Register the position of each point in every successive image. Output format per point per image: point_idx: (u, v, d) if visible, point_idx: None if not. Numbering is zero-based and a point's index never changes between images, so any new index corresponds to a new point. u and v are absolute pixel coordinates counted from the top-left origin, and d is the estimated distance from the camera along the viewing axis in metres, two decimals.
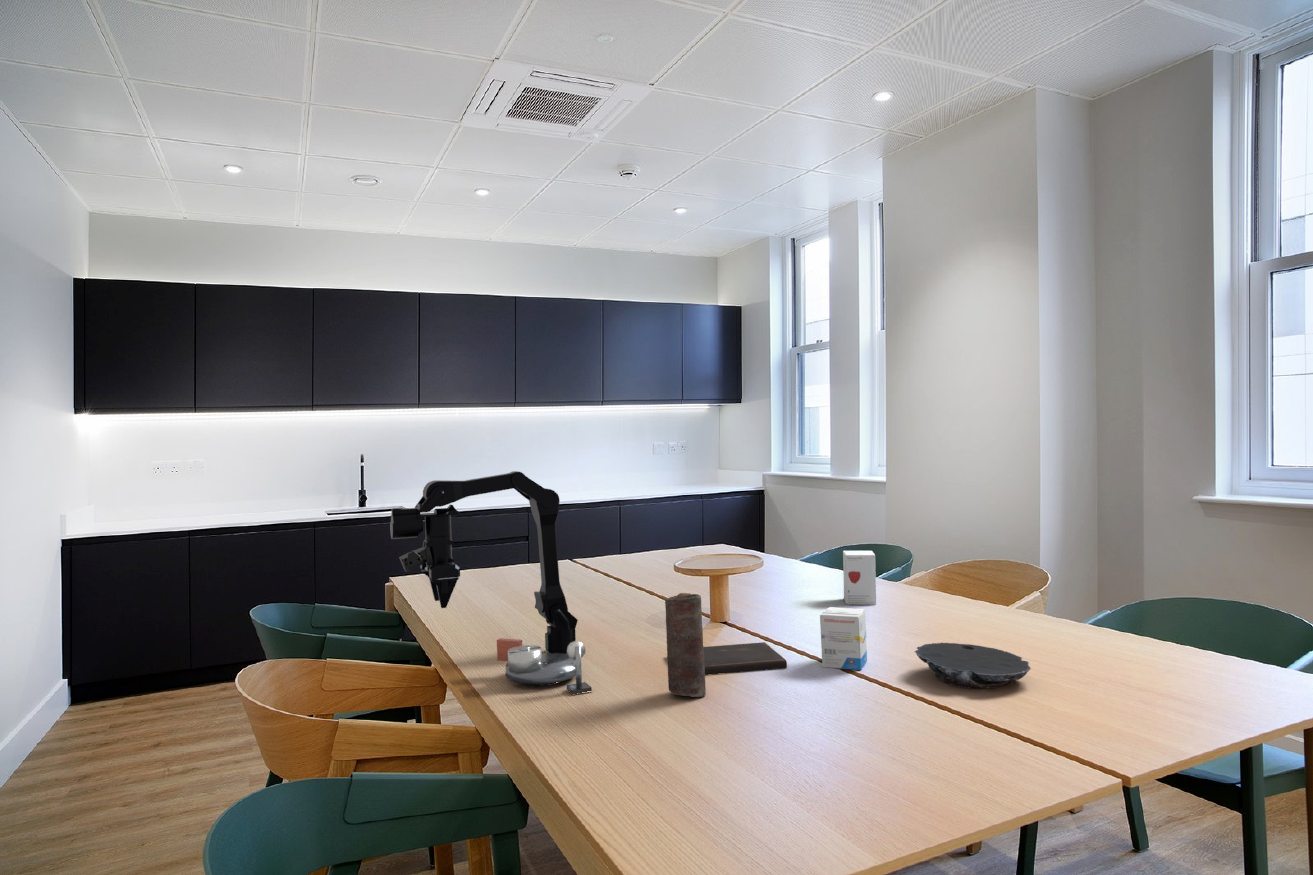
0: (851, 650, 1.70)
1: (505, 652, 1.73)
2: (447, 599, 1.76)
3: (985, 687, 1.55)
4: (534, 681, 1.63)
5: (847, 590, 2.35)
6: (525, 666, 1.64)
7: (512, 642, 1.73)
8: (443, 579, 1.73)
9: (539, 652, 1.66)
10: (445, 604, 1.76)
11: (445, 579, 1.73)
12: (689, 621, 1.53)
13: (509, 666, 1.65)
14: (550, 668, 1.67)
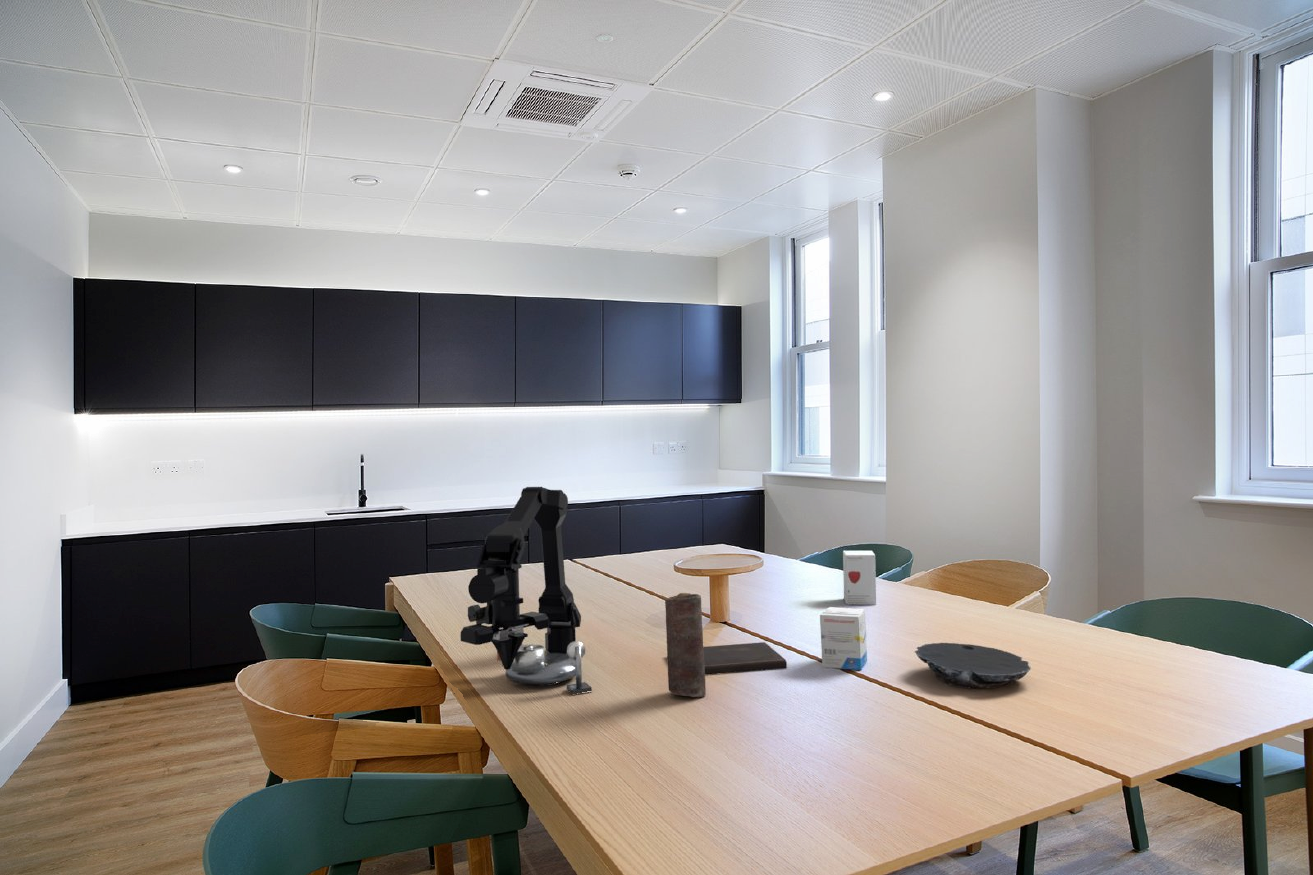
0: (851, 650, 1.70)
1: None
2: (505, 661, 1.63)
3: (985, 687, 1.55)
4: (534, 681, 1.63)
5: (847, 590, 2.35)
6: (528, 665, 1.64)
7: None
8: None
9: (542, 651, 1.67)
10: (505, 666, 1.63)
11: (492, 639, 1.61)
12: (689, 621, 1.53)
13: (512, 665, 1.66)
14: (550, 668, 1.67)
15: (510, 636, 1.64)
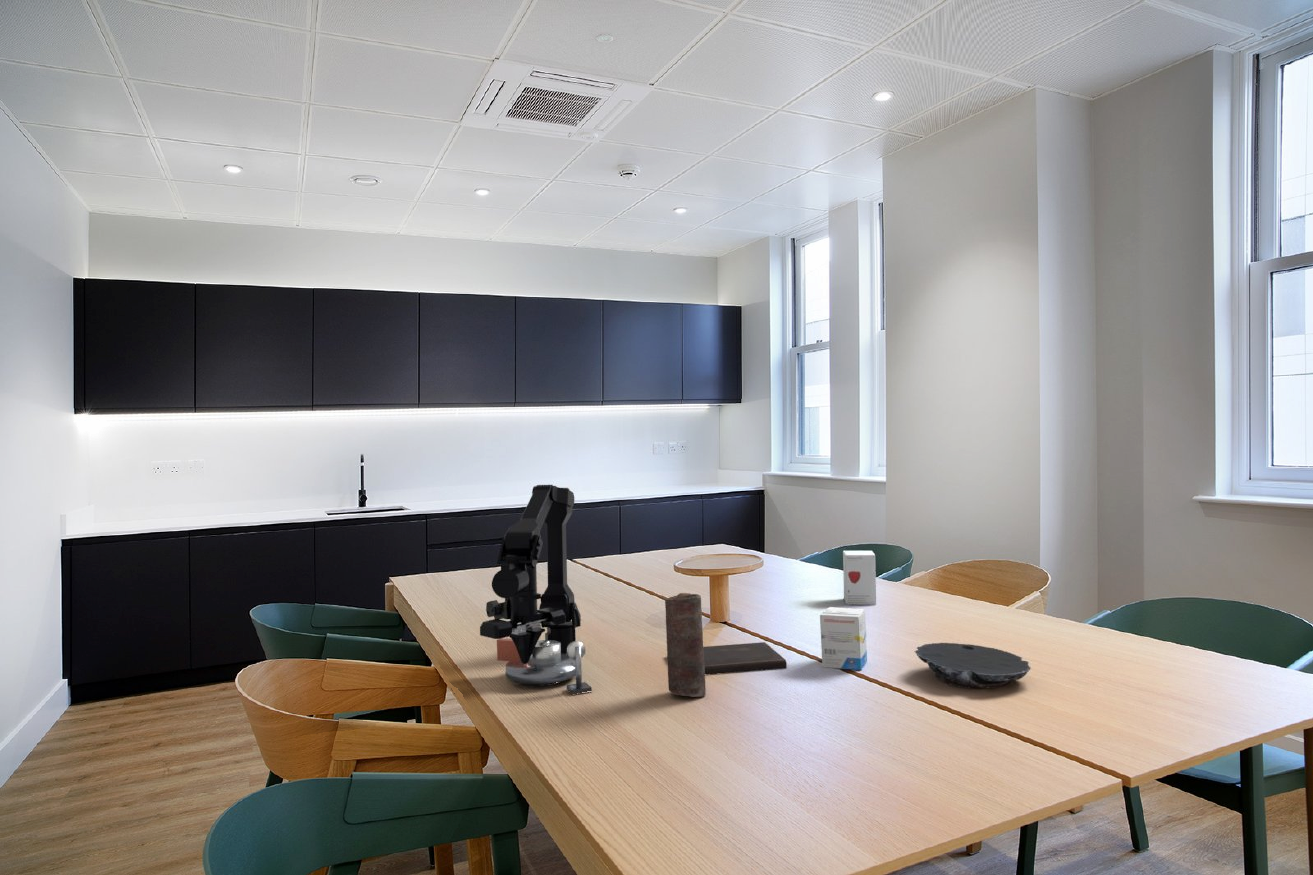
0: (851, 650, 1.70)
1: (505, 652, 1.73)
2: (523, 655, 1.66)
3: (985, 687, 1.55)
4: (534, 681, 1.63)
5: (847, 590, 2.35)
6: (545, 660, 1.67)
7: (512, 642, 1.73)
8: None
9: (558, 647, 1.70)
10: (523, 660, 1.66)
11: (510, 634, 1.64)
12: (689, 621, 1.53)
13: (529, 660, 1.69)
14: (550, 668, 1.67)
15: (528, 631, 1.67)
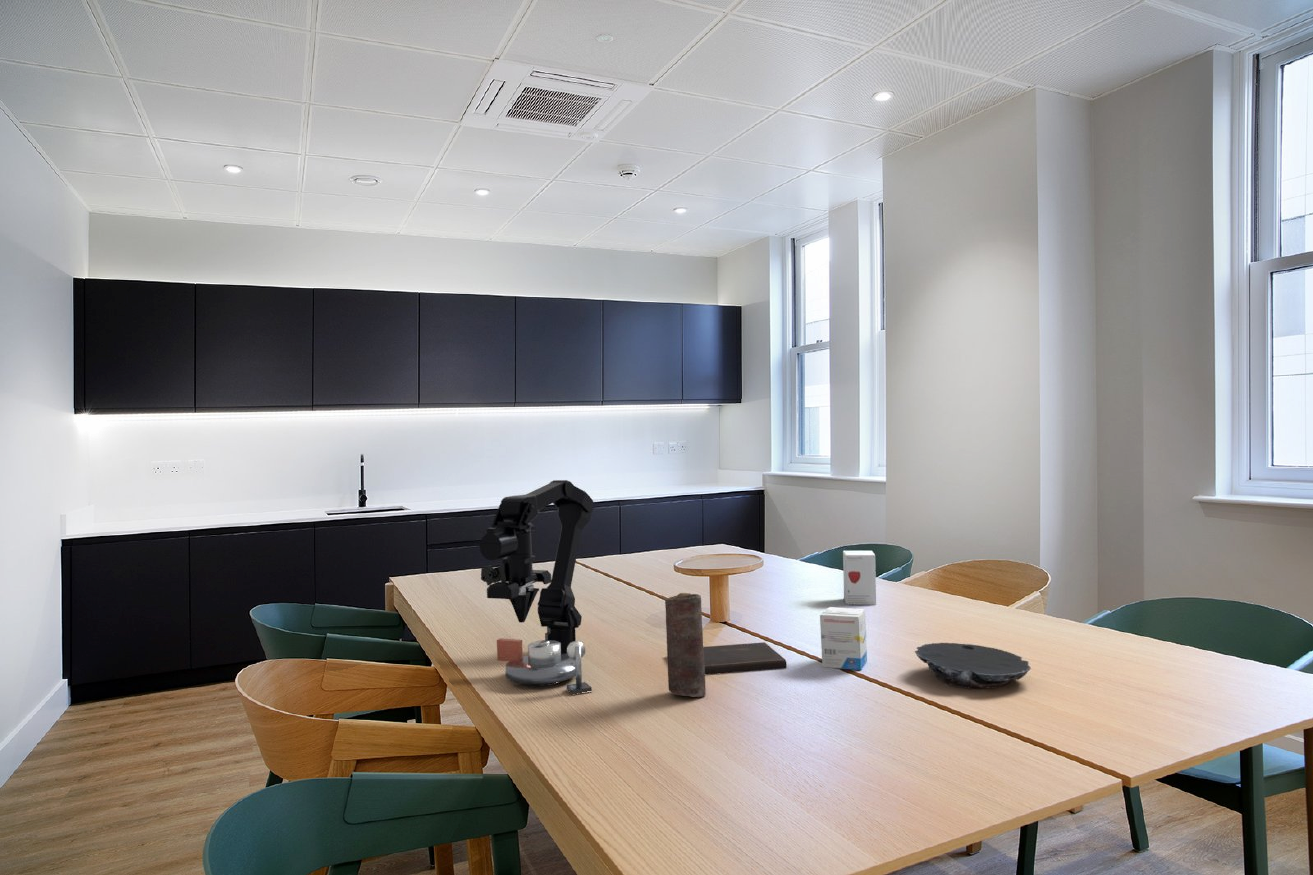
0: (851, 650, 1.70)
1: (505, 652, 1.73)
2: (522, 614, 1.76)
3: (985, 687, 1.55)
4: (534, 681, 1.63)
5: (847, 590, 2.35)
6: (545, 660, 1.67)
7: (512, 642, 1.73)
8: None
9: (558, 647, 1.70)
10: (521, 619, 1.77)
11: None
12: (689, 621, 1.53)
13: (529, 660, 1.69)
14: (550, 668, 1.67)
15: None
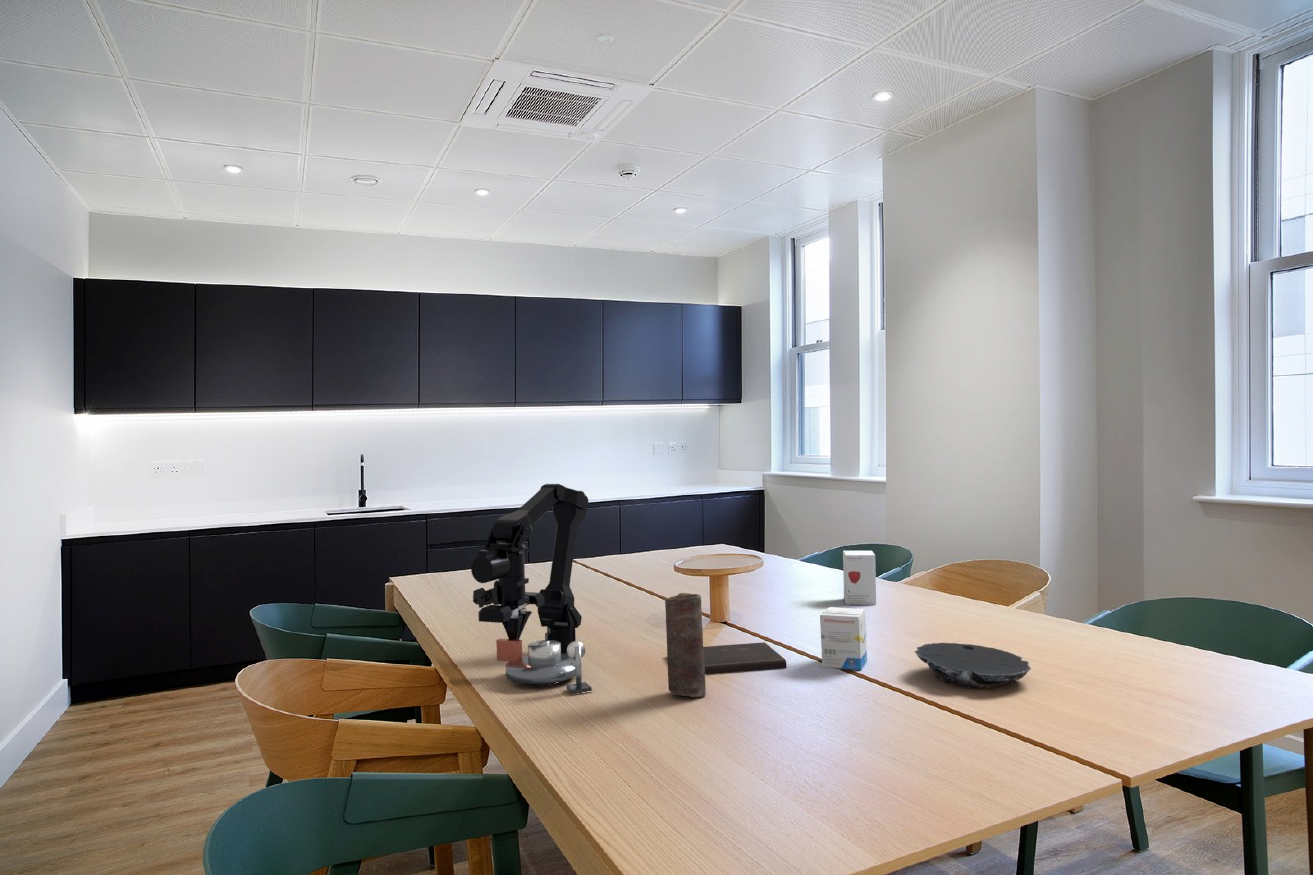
0: (851, 650, 1.70)
1: (505, 652, 1.73)
2: (514, 638, 1.74)
3: (985, 687, 1.55)
4: (535, 681, 1.63)
5: (847, 590, 2.35)
6: (546, 660, 1.67)
7: (512, 642, 1.72)
8: None
9: (559, 647, 1.70)
10: None
11: None
12: (689, 621, 1.53)
13: (529, 660, 1.69)
14: (550, 668, 1.67)
15: None
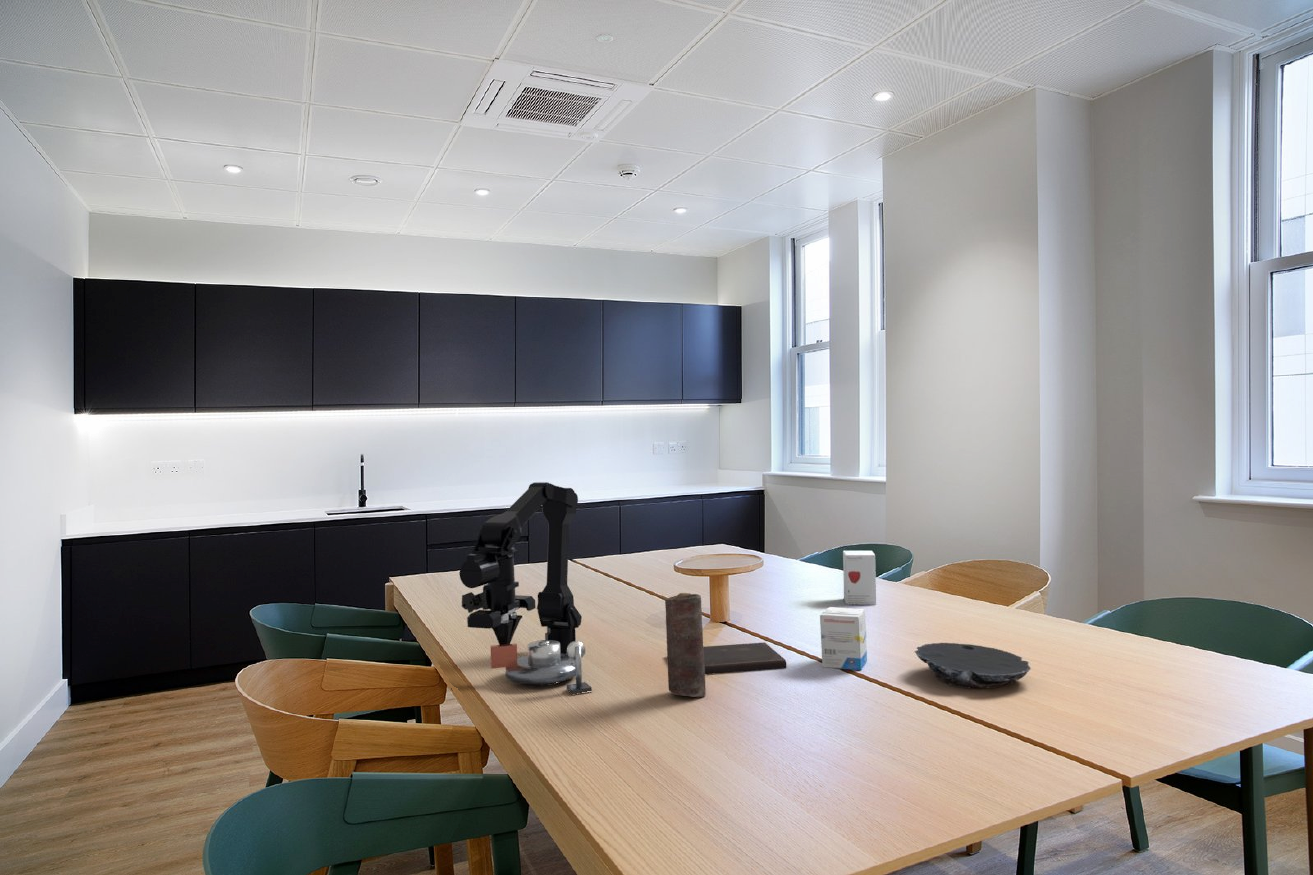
0: (851, 650, 1.70)
1: (501, 658, 1.68)
2: (505, 643, 1.70)
3: (985, 687, 1.55)
4: (556, 679, 1.64)
5: (847, 590, 2.35)
6: (554, 658, 1.69)
7: (509, 647, 1.69)
8: None
9: (559, 644, 1.72)
10: None
11: None
12: (689, 621, 1.53)
13: (535, 662, 1.68)
14: (560, 665, 1.69)
15: None
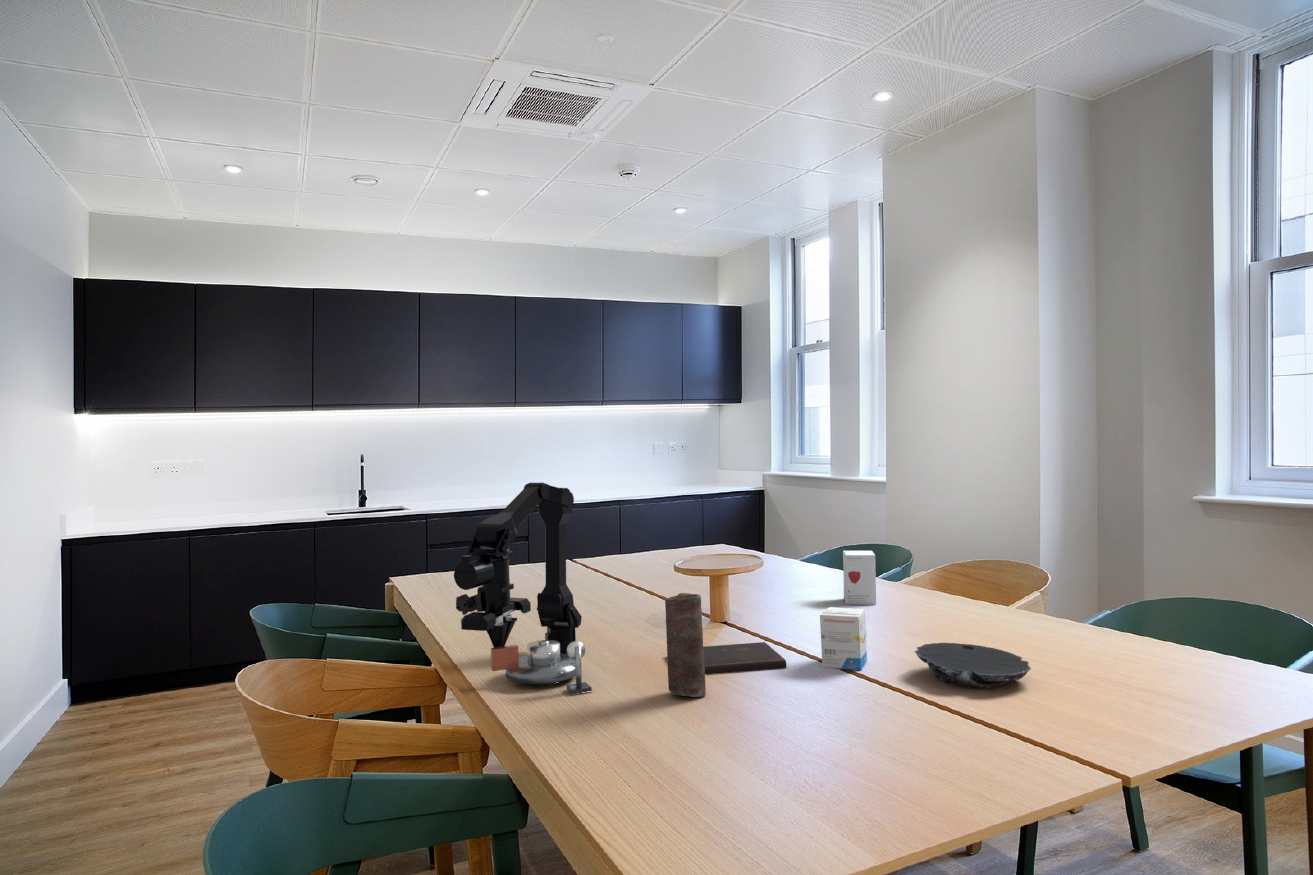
0: (851, 650, 1.70)
1: (502, 660, 1.67)
2: (499, 645, 1.68)
3: (985, 687, 1.55)
4: (563, 678, 1.65)
5: (847, 590, 2.35)
6: (556, 658, 1.69)
7: (511, 649, 1.67)
8: None
9: None
10: None
11: None
12: (689, 621, 1.53)
13: (537, 662, 1.68)
14: (562, 664, 1.69)
15: None
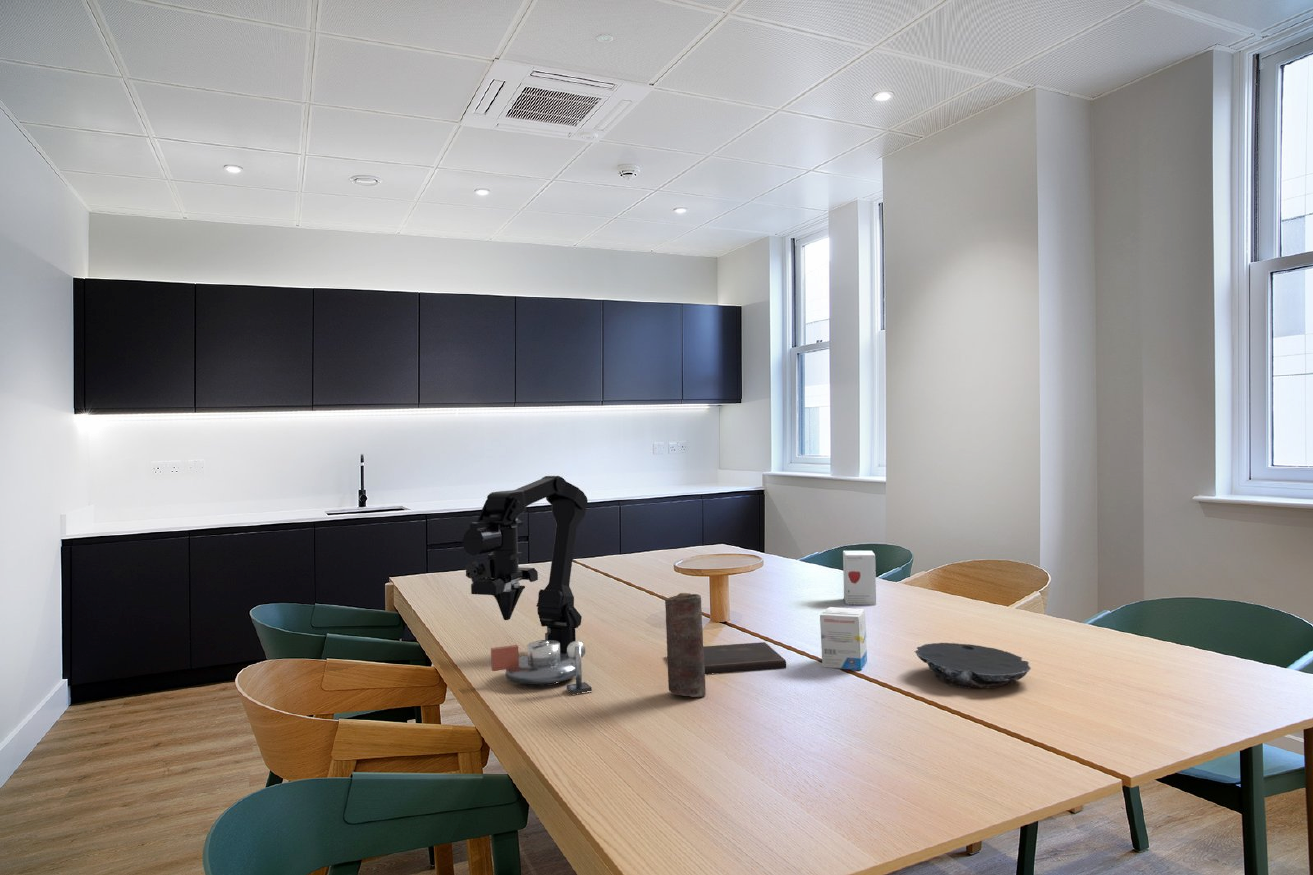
0: (851, 650, 1.70)
1: (502, 660, 1.67)
2: (507, 612, 1.74)
3: (985, 687, 1.55)
4: (563, 678, 1.65)
5: (847, 590, 2.35)
6: (556, 658, 1.69)
7: (511, 649, 1.67)
8: None
9: None
10: (506, 616, 1.74)
11: None
12: (689, 621, 1.53)
13: (537, 662, 1.68)
14: (562, 664, 1.69)
15: None
